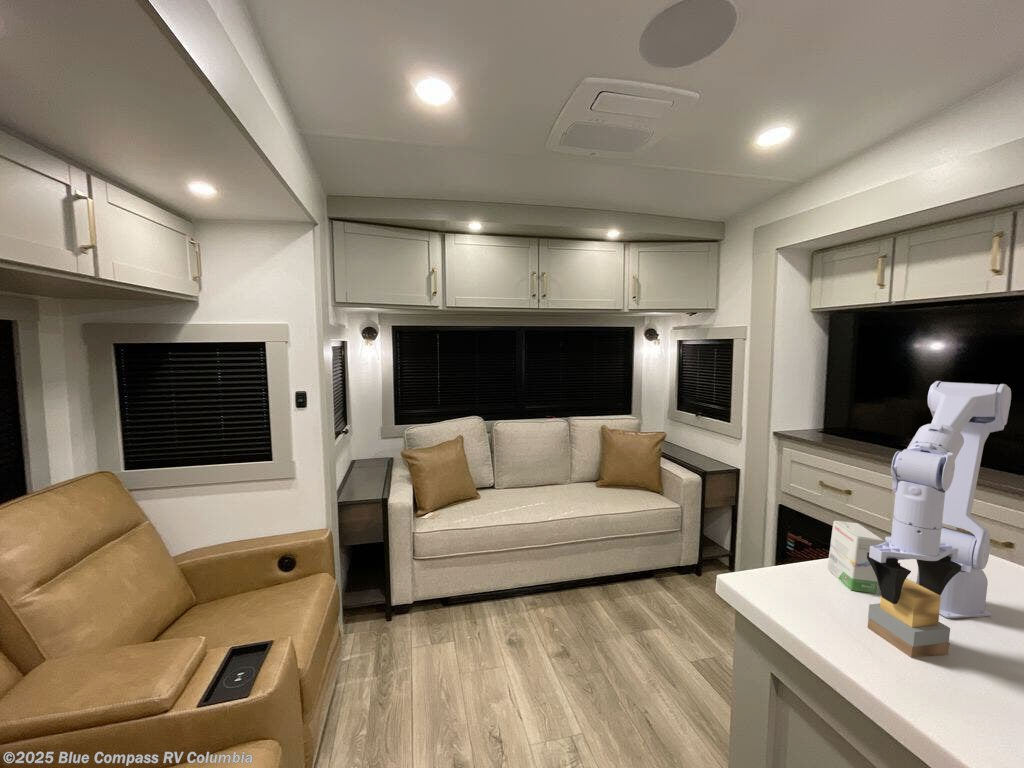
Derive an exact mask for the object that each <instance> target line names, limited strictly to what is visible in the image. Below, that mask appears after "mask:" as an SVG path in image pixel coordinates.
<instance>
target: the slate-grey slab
mask: <svg viewBox="0 0 1024 768" xmlns="http://www.w3.org/2000/svg"><path fill="white" fill-rule="evenodd" d="M868 618H870V619H871V620H873V621H874V622H876V623H877V624H879V625H880V626H882V627H883V628H885V629H887V630H888V631H890V632H891V633H893V634H894V635H896V636H897V637H899V638H901V639H902V640H904V641H905V642H907V643H908V644H910V645H911V646H913V647H914V646H923V645H931V644H940V643H948V642H949V643H950V635H951V627H949V626H948V625H945V624H944V623H942V622H940V621H939V623H938V625H931V626H921V627H911V626H909V625H907V624H906V623H904V622H903V621H901V620H899V619H898V618H896V617H894V616H893V615H891V614H889V613H888V612H886V611H885V610H883V609H881V608H880V603H878V602H877V603H869V605H868V616H867V619H868Z"/></svg>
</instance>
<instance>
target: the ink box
mask: <svg viewBox="0 0 1024 768" xmlns="http://www.w3.org/2000/svg"><path fill="white" fill-rule="evenodd" d="M882 543H884V539H882V538H881V537H879V536H877V535H876V534H875V533H873V532H871V531H870V530H869V529H867V528H866V527H864V526H863V525H862V524H860V523H857V522H850V521H841V520H833V523H832V530H831V538H830V544H829V545H830V546H829V552H828V553H829V554H828V559H827V560H828V561H827V568H828V569H829V570H830V571H831V572H832V573H834V574H835V575H836V576H837V577H838V578H839V579H840V580H841V581H842V582H843V583H842V582H841V581H840V580H839V579H838V578H837V577H836V576H835V575H834V574H833V575H834V576H835V577H836V578H837V579H838V580H839V581H840V582H841V583H842V584H843V585H845V587H847V588H848V589H849V590H850V591H855V592H864V593H871V594H877V590H878V580H877V577H876V575H875V572H874V570H873V568H872V566H871V564H870V562H869V561H868V559H867V553H868V552H870V546H876V545H879V544H882ZM828 569H827V570H828ZM829 570H828V571H829ZM830 571H829V572H830ZM831 572H830V573H831ZM832 573H831V574H832Z"/></svg>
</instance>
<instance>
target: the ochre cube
mask: <svg viewBox="0 0 1024 768" xmlns="http://www.w3.org/2000/svg"><path fill="white" fill-rule="evenodd" d="M940 600H941V596H940V595H938V594H936V593H934V592H932V591H930V590H928V589H926V588H924V587H922V586H920V585H918V584H917V582H914V581H913V580H910V579H908V578H906V579H905V581H904V583H903V586H902V589H901V594H900V599H899V601H898V603H897V604H892V603H891V602H889V601H887V600H886V599H884V598H882V597H881V596H880V608H881V609H883V610H885V611H886V612H888V613H889V614H891V615H893V616H894V617H896V618H898V619H899V620H901V621H903V622H904V623H906V624H907V625H909V626H911V627H921V626H931V625H938V623H939V622H940V614H939V612H940Z"/></svg>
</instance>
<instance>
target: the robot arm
mask: <svg viewBox="0 0 1024 768" xmlns="http://www.w3.org/2000/svg"><path fill="white" fill-rule="evenodd" d="M927 393H928V394H927V406H928V408H929V410H930V413H931V416H932V420H931V423H927V424H924V425H922V426H920V427H919V428H918V430H917V431H916V433H915V435H914V436H913V437H912V439H911V441H910V443H909V444H908V446H907V447H906V448H904V449H903V450H902V451H900V450H898V451H896V452H895V453H894V455H893V458H892V461H891V467H890V468H891V469H890V473H891V478H892V484H891V485H892V487H891V488H892V491H893V492H895V493H894V505H893V513H892V514H893V515H892V523H891V524H892V525H891V535H890V536H885V539H884V541H883V543H882V544H879V545H876V546H870V552H868V553H867V559H868V561H869V562H870V564H871V566H872V568H873V570H874V572H875V575H876V577H877V580H878V583H877V585H878V587H879V588H878V589H879V591H880V598H881V597H882V598H884V599H886V600H887V601H889V602H891V603H892V604H897V603H898V601H899V599H900V594H901V589H902V586H903V583H904V581H905V579H908V578H907V577H908V576H909V575H910V574H911V573H912V571H911V570H910V569H908V568H905V566H903V565H901V563H900V562H899V561H903V560H916V563H917V575H916V584H918V585H920V586H922V587H924V588H926V589H928V590H930V591H932V592H934V593H936V594H938V595H940V596H941V600H940V612H939V615H941V616H943V617H944V618H947V619H960V618H963V619H964V618H976V617H990V616H991V612H990V611H988V610H985V609H986V604H987V603H986V601H987V594H988V593H987V592H988V583H989V582H988V581H989V580H988V578H987V574H985V572H984V569H985V568H986V567H987V564H988V561H989V557H990V551H991V545H990V541H991V534H990V532H989V530H988V528H987V527H986V526H984V525H983V524H982V523H981V522H979V521H978V520H976V519H975V518H974V517H973V516H972V510H973V503H974V500H975V494H976V488H977V483H978V478H979V473H980V467H981V462H982V456H983V451H984V446H985V443H986V441H987V439H988V438H989V435H990V433H994V432H999V431H1004V428H1005V426H1006V425H1007V423H1008V418H1009V413H1010V412H1009V411H1010V407H1011V402H1012V401H1011V400H1012V390H1011V388H1010V387H1009V386H1008V385H1007V384H1005V383H1000V384H990V383H974V382H951V381H950V382H949V381H941V380H936V381H934V382H933V383H932V384H931V385H930V386H929V390H928V392H927ZM943 525H946V526H949V527H946V526H943ZM950 527H953V528H955V529H953V528H950ZM957 529H961V530H965V531H968V532H970V533H968V532H965V531H960V530H957Z"/></svg>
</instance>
